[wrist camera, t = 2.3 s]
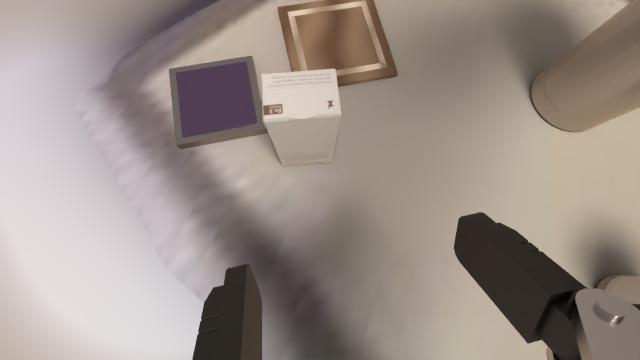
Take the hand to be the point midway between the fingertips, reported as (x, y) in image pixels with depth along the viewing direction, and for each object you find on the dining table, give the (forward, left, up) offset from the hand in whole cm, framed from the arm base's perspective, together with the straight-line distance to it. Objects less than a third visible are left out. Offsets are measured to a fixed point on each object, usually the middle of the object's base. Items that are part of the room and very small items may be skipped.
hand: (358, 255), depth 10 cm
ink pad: (+9, -20, -19) cm, 29 cm away
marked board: (-7, -26, -19) cm, 33 cm away
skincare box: (0, -12, -20) cm, 23 cm away
